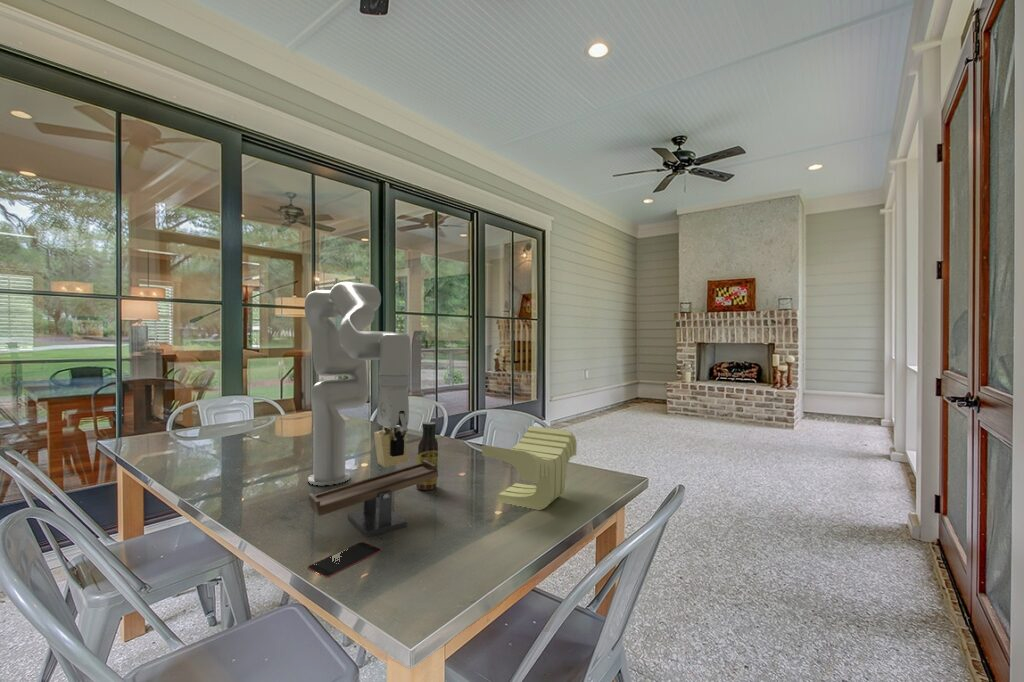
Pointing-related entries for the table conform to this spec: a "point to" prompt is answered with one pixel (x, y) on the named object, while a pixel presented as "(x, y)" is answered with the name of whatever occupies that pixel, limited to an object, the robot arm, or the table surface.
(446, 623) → the table surface
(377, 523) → the beam stand
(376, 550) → the smartphone
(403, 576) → the table surface
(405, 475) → the brown long channel
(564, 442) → the slatted curved stool
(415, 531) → the table surface
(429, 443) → the sauce bottle
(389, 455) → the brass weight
